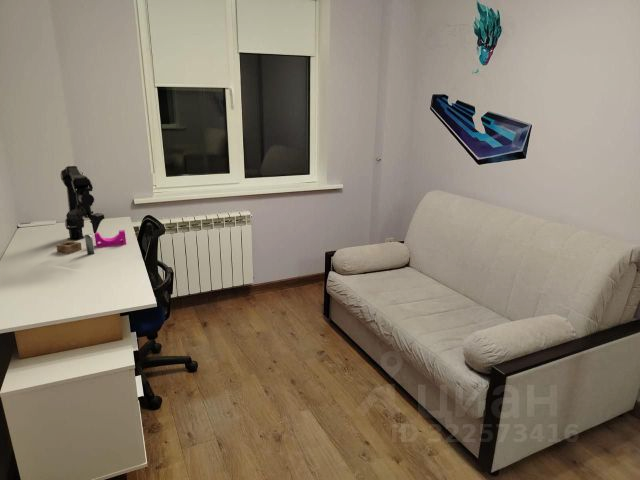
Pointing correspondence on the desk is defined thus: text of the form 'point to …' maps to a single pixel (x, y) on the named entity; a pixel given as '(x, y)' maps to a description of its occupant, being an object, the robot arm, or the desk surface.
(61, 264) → the desk surface
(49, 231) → the desk surface
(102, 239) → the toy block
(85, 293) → the desk surface
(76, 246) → the brown square frame
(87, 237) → the metal canister
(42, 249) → the desk surface
